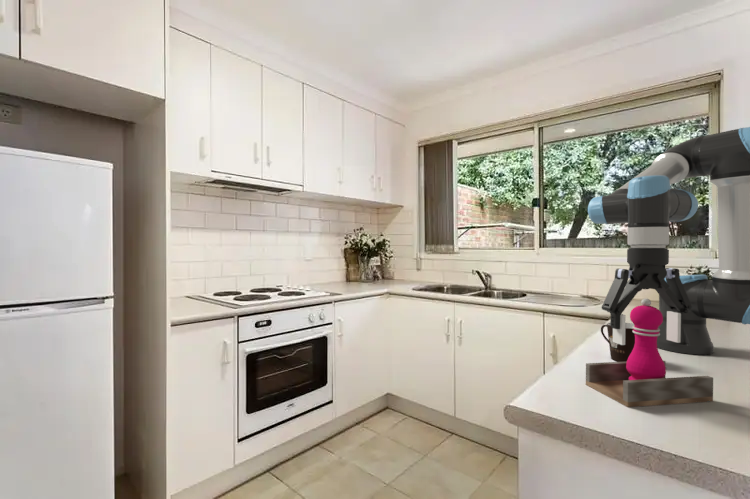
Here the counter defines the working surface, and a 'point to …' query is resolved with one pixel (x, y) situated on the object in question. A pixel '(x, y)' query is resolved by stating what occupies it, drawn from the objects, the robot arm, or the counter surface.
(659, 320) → the pepper mill
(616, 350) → the coffee mug
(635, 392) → the rail track
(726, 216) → the robot arm
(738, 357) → the counter surface
